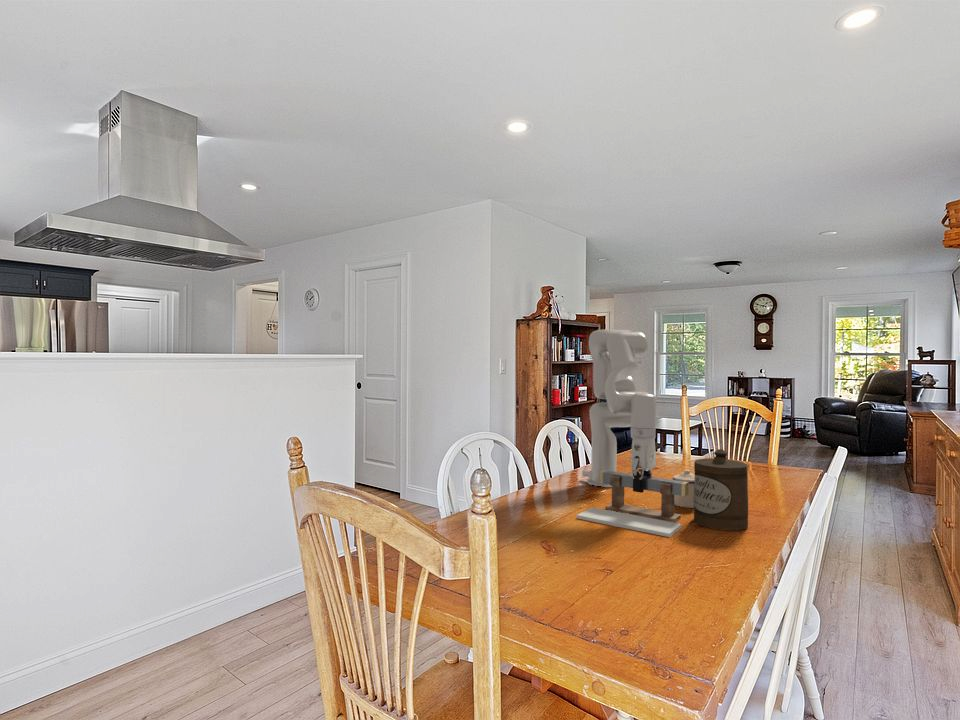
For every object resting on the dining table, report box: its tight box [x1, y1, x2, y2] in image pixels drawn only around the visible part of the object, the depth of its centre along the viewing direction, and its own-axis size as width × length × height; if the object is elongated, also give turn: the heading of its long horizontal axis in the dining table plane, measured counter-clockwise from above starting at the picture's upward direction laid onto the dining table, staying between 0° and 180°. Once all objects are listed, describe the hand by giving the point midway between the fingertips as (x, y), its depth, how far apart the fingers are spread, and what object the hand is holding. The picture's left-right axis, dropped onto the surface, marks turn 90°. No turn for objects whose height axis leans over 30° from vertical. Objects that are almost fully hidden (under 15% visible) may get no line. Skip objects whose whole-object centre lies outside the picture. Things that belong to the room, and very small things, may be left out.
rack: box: [604, 476, 682, 523], centre depth 170 cm, size 22×6×11 cm, turn 54°
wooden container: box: [693, 448, 749, 532], centre depth 161 cm, size 15×15×22 cm
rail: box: [600, 470, 689, 496], centre depth 170 cm, size 27×4×4 cm, turn 54°
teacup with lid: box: [672, 469, 695, 509], centre depth 182 cm, size 12×9×12 cm
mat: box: [576, 506, 683, 538], centre depth 161 cm, size 28×11×1 cm, turn 54°
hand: (642, 489), depth 170 cm, fingers open, 6 cm apart
